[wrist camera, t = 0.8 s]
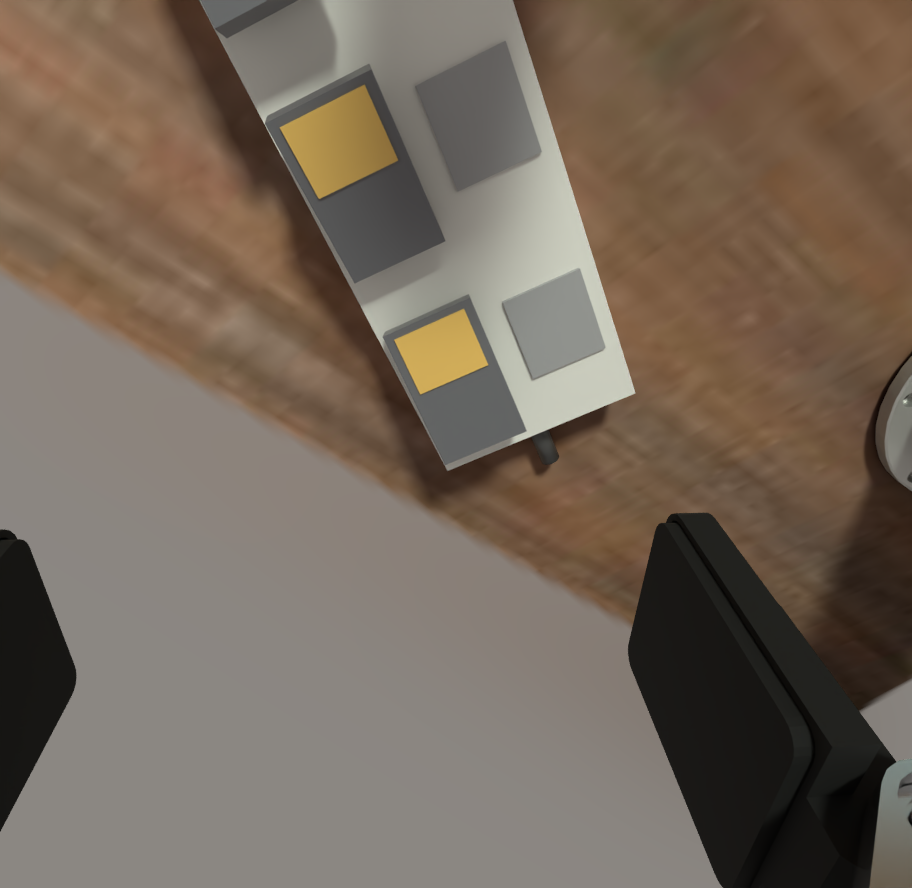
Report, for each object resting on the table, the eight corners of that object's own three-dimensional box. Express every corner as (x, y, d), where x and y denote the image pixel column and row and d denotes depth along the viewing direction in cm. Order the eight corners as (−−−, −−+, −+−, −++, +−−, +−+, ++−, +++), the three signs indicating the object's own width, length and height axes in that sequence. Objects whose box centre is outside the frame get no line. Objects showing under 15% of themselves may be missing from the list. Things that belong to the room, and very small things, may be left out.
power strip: (631, 414, 35) (651, 443, 32) (464, 482, 36) (470, 516, 33) (373, -386, 20) (369, -462, 17) (102, -219, 21) (57, -265, 18)
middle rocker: (441, 230, 26) (446, 242, 25) (353, 271, 26) (354, 284, 25) (369, 63, 22) (371, 69, 21) (267, 115, 22) (264, 124, 21)
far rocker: (523, 422, 29) (526, 432, 28) (444, 455, 30) (444, 466, 29) (468, 293, 27) (469, 298, 26) (385, 331, 28) (382, 337, 26)
